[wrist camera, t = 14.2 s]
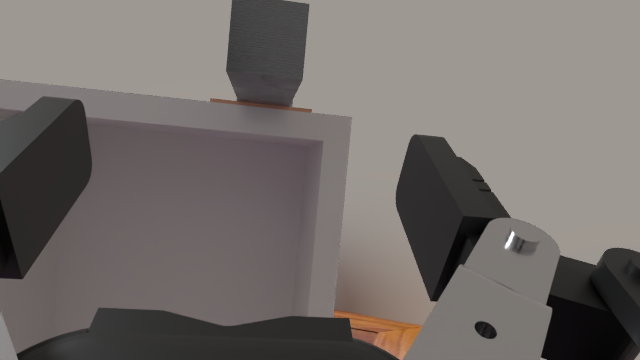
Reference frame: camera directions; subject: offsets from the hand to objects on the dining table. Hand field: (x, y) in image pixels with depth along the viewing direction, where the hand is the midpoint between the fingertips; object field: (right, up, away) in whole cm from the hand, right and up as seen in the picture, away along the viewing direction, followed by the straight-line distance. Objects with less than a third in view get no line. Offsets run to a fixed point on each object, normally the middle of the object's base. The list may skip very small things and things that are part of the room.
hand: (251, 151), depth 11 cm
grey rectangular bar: (-2, +4, +16) cm, 17 cm away
